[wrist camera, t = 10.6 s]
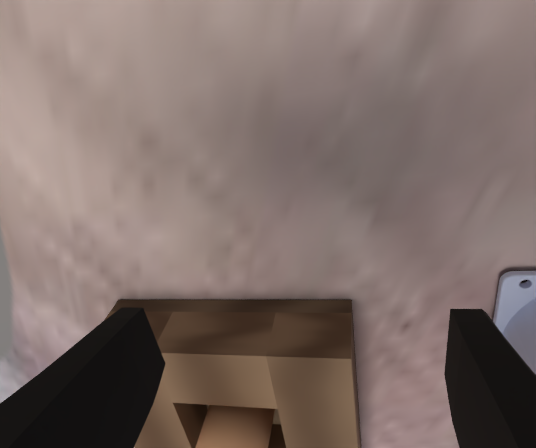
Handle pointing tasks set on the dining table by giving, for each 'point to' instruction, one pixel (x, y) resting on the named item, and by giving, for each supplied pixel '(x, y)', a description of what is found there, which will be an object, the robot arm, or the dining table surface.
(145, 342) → the robot arm
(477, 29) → the dining table surface
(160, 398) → the socket block
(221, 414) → the peg
